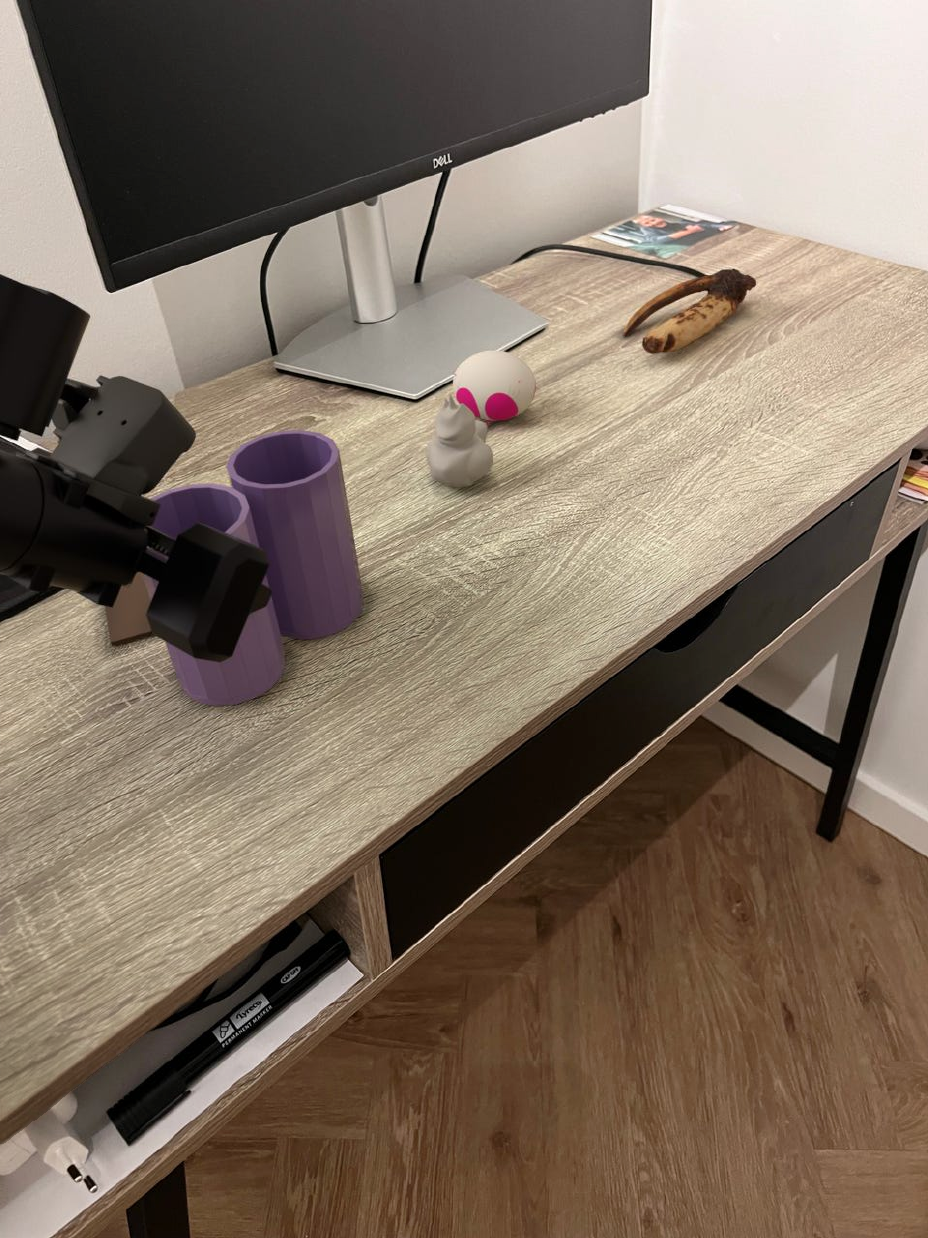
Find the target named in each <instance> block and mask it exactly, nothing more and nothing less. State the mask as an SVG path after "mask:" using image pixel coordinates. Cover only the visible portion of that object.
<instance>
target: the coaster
mask: <svg viewBox="0 0 928 1238" xmlns="http://www.w3.org/2000/svg"><path fill="white" fill-rule="evenodd" d="M150 602H151V600H150V597H149V594H148V591H147V588H146V585H145V582H144V580H143V577H142V574H141V572H137V574H136V575H135V577H134V580H133V582H132V584H131V586H130V587H124V586H121V588H120V591H119V593H118V596H117V598H116V601H115V603H114V606H113V608H112V607H107V606H104V611H105V618H106V624H107V629H108V634H109V641H110V644H111V646H112V647H116V646H120V645H124V644H127V643H130V642H134V641H137V640H140V639H144V638H148V637H151V636H155V635H154V634H152V631H151V628H150V626H149V623H148V620H147V617H146V612H147V610H148V607H149V605H150Z"/></svg>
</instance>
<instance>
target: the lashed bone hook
mask: <svg viewBox="0 0 928 1238" xmlns="http://www.w3.org/2000/svg"><path fill="white" fill-rule="evenodd" d="M756 286H757V280H756V279H755V278H754V277H753V276H752V275H750V274H744V273H742V272H741V271H740V270H738V269H736V268H724V269H720V270H718V271H717V272H715V273H712V274H709V275H708V274H706V275H704V276H700V277H694V278H691V279H689V280H686V281H683V282H680V283H678V284H675V285H674V286H672V287H670V288H668V289H665V290H664V291H662V292H661V293H659V294H657V295H656V296H654V297H652V298H651V299H649V300H648V301H647V302H646V303H644V304H643V305H642V306H641V307H639V309H637V311H636V312H635V313H634V314H633V315H632V316H631V317H630V319H629V320H628V322H627V323H626V325H625V328H624V329H623V332H622V336H623V337H627V336H629V335H630V334H632V333H633V332H634V331H635V330H636V329H637V328H639V327H640V326H641V325H642V324H643V323H644V322H645V321H646V320H648V318H649V317H651V316H652V315H653V314H655V313H657V312H659V311H660V310H661V309H664V308H665V307H667V306H669V305H671V304H673V303H675V302H676V301H677V302H678V301H679V300H681V299H683V298H686V297H688V296H691V295H694V294H697V293H699V294H700V293H702V292H707V294H706V295H705V296H703V297H702V298H701V299H700V300H698V301H697V302H695V303H693V304H691V305H690V306H688V307H687V308H684V309H682V310H681V311H680V312H678V313H676V314H675V315H674V316H672V317H671V318H669V319H668V320H666V321H665V322H664V323H662V324H661V325H658V326H656V327H654V328H653V329H651V330H650V331H648V332H647V333H646V335H645V336H643V337H642V342H641V347H642V349H643V350H644V351H645V352H646V353H648V354H651V355H655V354H660V353H664V354H666V353H667V354H668V353H673V352H676V351H678V350H680V349H682V348H683V347H685V346H687V345H689V344H691V343H693V342H694V341H695V340H697V339H699V338H701V337H702V336H704V335H705V334H707V333H708V332H711V331H712V330H713V329H715V328H716V327H718V326H719V325H720V324H721V323H722V322H724V321H725V320H726V319H727V318H729V317H730V316H732V315H733V314H734V313H735V311H736V310H737V309H738V308H739V305H740V304H741V303H743V302H744V301H745V299H746V296H747V294H748V291H749V292H750V291H752V290H753V289H754V288H755V287H756Z"/></svg>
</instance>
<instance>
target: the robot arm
mask: <svg viewBox="0 0 928 1238" xmlns="http://www.w3.org/2000/svg"><path fill="white" fill-rule="evenodd" d="M90 319H91V314H89V312H87V311H86V310H84V309H83V308H81V307H80V306H78V305H77V304H75V303H73V302H71V301H69V300H68V299H66V298H64V297H63V296H60V295H58V294H56V293H54V292H51V291H49V290H46V289H42V288H39V287H36V286H32V285H28V284H25V283H22V282H20V281H18V280H16V279H13V278H10V277H9V276H6V275H4V274H1V273H0V436H1V437H4V438H7V439H10V440H13V441H16V442H18V441H19V439H20V436H21V433H22V431H25V432H27V433H30V434H33V435H36V436H38V437H41V438H43V437H44V433H45V432H46V431H45V430H46V428H49V427H50V424H51V422H52V424H53V426H54V427H55V429H54V430H53V431H52V433H53V434H54V435H55V436H56V437H57V438H58V440H57V445H56V446H55V448H54V450H53V451H49V450H47V449H44V448H41V447H36V448H34V449H32V450H30V449H26V450H25V453H24V454H23V453H20V452H18V451H16V452H15V454H14V453H11V452H8V451H5V450H2V449H0V575H3V576H5V577H7V578H8V579H10V580H12V581H13V582H15V583H17V584H18V585H20V586H22V587H24V588H25V589H26V590H29V591H34V592H38V593H42V594H47V593H48V590H49V588H50V586H51V587H56V588H61V589H65V590H68V591H69V590H70V591H73V592H74V593H77V594H79V595H80V596H82V597H84V598H85V599H87V600H89V601H90V602H92V603H94V604H96V605H98V606H103V607H105V606H107V607H112V608H113V606H114V603H115V601H116V598H117V596H118V593H119V591H120V588H121V586H124V587H130V586H131V584H132V582H133V580H134V577H135V575H136V574H137V572H141V573H143V574H145V575H147V576H149V577H151V578H153V579H154V580H156V581H158V582H159V583H158V585H157V588H156V590H155V593H154V595H153V597H152V600H151V602H150V605H149V607H148V610H147V612H146V617H147V620H148V623H149V626H150V628H151V631H152V634H154V635H153V636H155V637H157V638H159V639H160V640H163V641H164V642H165V641H166V642H168V643H169V644H171V645H173V646H174V647H176V648H178V649H180V650H181V651H183V652H185V653H187V654H188V655H190V656H192V657H194V658H196V659H202V660H208V661H214V662H219V663H221V662H223V661H225V660H227V659H228V658H230V657H232V655H233V653H234V650H235V648H236V645H237V643H238V640H239V638H240V636H241V633H242V631H243V628H244V626H245V623H246V621H247V619H248V616H249V614H251V613H254V612H256V611H258V610H260V609H262V608H265V607H266V606H267V604H268V602H269V599H270V597H271V594H272V590H271V589H269V588H268V587H267V586H265V585H264V584H262V582H263V579H264V577H265V575H266V572H267V570H268V567H269V561H268V557H267V553H266V551H265V550H263V549H261V548H259V547H256V546H254V545H252V544H250V543H248V542H246V541H244V540H241V539H239V538H237V537H235V536H233V535H230V534H228V533H225V532H223V531H220V530H218V529H216V528H213V527H210V526H207V525H204V524H202V523H199V522H197V523H196V524H194V525H192V526H191V527H189V528H188V529H186V530H184V531H183V532H181V533H180V534H178V536H177V538H176V539H175V538H173V537H171V536H169V535H167V534H165V533H163V532H161V531H159V530H157V529H155V528H153V527H151V526H152V525H153V523H154V521H155V518H156V516H157V513H158V511H159V508H160V506H161V504H160V503H158V502H155V501H153V500H151V499H150V498H148V497H146V496H143V495H147V494H148V493H150V492H151V491H153V490H154V489H155V488H156V487H157V486H158V485H159V484H160V482H161V481H163V479H164V477H165V476H166V474H167V473H168V472H169V471H170V470H171V468H172V467H173V466H174V464H175V463H176V462H177V461H178V460H179V458H180V457H181V456H182V455H183V453H188V452H189V450H190V449H191V448H192V446H193V445H194V443H195V441H196V437H197V432H196V430H195V428H194V427H193V426H192V425H191V423H189V421H188V420H187V419H186V418H185V417H184V416H183V414H182V413H181V412H180V411H179V410H178V409H177V408H176V406H175V405H174V404H173V403H172V402H171V400H170V399H168V397H167V396H166V395H165V394H164V393H163V391H161V390H160V389H158V388H156V387H153V386H150V385H148V384H145V383H142V382H139V381H137V380H135V379H132V378H129V377H127V376H123V375H117V376H113V377H110V378H109V377H106V376H104V375H102V374H100V375H99V376H98V377H97V378H96V379H95V380H96V381H95V382H97V384H99V386H93V385H90V384H87V383H85V382H81V381H78V380H75V379H71V378H69V374H70V373H71V369H72V367H73V364H74V361H75V358H76V357H77V353H78V351H79V348H80V345H81V343H82V341H83V337H84V334H85V332H86V329H87V327H88V324H89V322H90ZM147 546H149V548H152V549H154V550H155V551H158V552H159V553H162V554H163V555H166V556H168V557H169V558H168V560H167V559H165V558H163V557H161V556H159V555H157V554H155V553H153V552H151V551H149V550H147Z"/></svg>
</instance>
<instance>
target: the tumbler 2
mask: <svg viewBox="0 0 928 1238" xmlns="http://www.w3.org/2000/svg"><path fill="white" fill-rule="evenodd" d="M225 468H226V471H227V477H228V480H229V484H230V487H232V488H234V489H235V490H237V491H239V492H240V493H242V494H243V495H245V497H246V499H247V502H248V504H249V507H250V510H251V515H252V519H253V523H254V527H255V531H256V535H257V539H258V543H259V547H260V548H261V549H263V550H265V551H266V553H267V557H268V561H269V567H268V570H267V572H266V576H267V580H268V584H269V588H270V589H271V590H272V594H271V597H272V601H273V605H274V609H275V613H276V617H277V621H278V625H279V629H280V634H281V636H282V637H286V638H288V639H289V638H290V639H293V640H295V639H296V640H314V639H315V640H316V639H321V638H325V637H329V636H331V635H334V634H337V633H338V632H341V631H342V630H344V629H346V628H347V627H349V626H350V625H352V623H354V621H355V620H356V619H357V618H358V617H359V616H360V614H361V612H362V611H363V606H364V596H363V594H364V591H363V590H364V589H363V584H362V579H361V573H360V568H359V560H358V554H357V549H356V543H355V536H354V529H353V524H352V519H351V512H350V507H349V500H348V495H347V489H346V483H345V477H344V470H343V465H342V458H341V452H340V449H339V447H338V445H337V444H336V442H335V440H334V439H332V438H330V437H329V436H326V435H325V434H323V433H321V432H318V431H317V432H316V431H310V430H305V429H293V430H279V431H275V432H271V433H266V434H263V435H259V436H257V437H254V438H253V439H250V440H248V441H246V442H244V443H242V444H241V445H240V446H239V447H238V448H236V449H235V450H234V451H233V452H232V453H231V454H230V455H229V457H228V460H227V463H226V466H225Z"/></svg>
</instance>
